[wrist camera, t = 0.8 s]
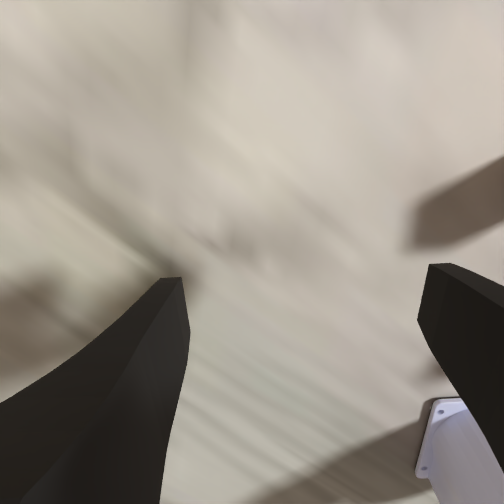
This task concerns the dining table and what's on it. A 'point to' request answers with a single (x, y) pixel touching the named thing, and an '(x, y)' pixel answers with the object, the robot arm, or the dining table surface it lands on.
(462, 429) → the robot arm
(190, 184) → the dining table surface
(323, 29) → the dining table surface
